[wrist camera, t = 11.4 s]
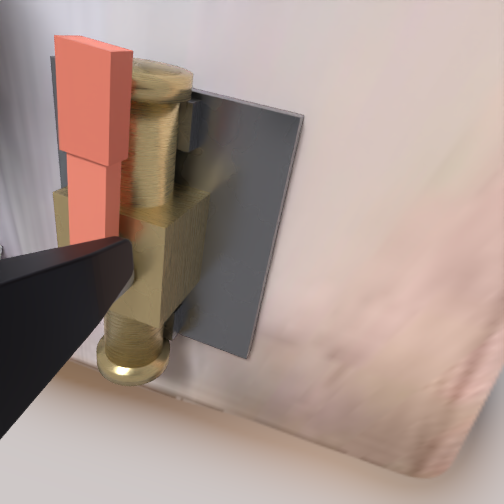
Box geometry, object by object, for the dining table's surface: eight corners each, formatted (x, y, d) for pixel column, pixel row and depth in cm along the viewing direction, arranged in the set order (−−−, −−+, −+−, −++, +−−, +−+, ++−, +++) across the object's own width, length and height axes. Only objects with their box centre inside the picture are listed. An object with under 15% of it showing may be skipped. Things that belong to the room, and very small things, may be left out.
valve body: (247, 361, 28) (215, 428, 23) (78, 297, 31) (17, 345, 26) (309, 93, 19) (276, 111, 14) (59, 35, 21) (-41, 34, 17)
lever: (132, 301, 20) (113, 320, 19) (78, 280, 21) (56, 296, 19) (149, 54, 14) (123, 55, 13) (73, 32, 15) (40, 31, 13)
